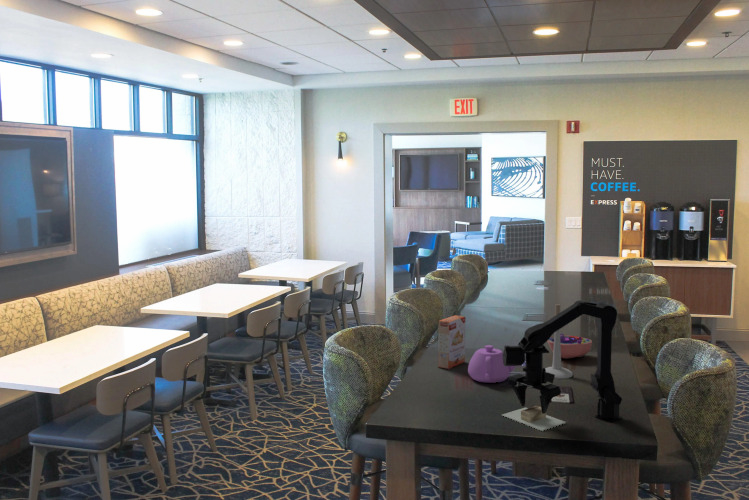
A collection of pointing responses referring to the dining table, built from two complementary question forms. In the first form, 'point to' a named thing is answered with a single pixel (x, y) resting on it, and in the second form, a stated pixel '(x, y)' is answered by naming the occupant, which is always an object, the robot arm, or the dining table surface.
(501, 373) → the teapot
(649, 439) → the dining table surface
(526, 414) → the grooved tan block
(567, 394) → the chocolate bar
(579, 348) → the cell model
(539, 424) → the sage mat
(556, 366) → the candlestick
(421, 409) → the dining table surface
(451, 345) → the cracker box
